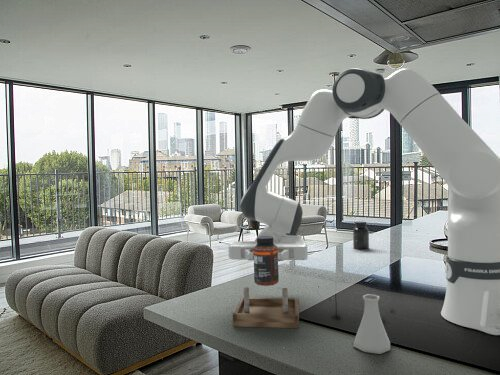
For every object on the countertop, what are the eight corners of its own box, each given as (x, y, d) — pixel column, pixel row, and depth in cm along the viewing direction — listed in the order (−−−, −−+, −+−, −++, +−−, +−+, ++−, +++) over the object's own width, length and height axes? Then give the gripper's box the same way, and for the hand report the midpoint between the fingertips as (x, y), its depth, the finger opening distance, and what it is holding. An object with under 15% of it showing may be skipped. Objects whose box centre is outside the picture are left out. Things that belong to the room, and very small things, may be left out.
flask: (361, 335, 81) (361, 289, 81) (396, 344, 76) (395, 295, 76) (347, 348, 75) (346, 298, 75) (383, 358, 71) (382, 305, 70)
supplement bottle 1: (277, 279, 96) (276, 234, 95) (280, 286, 90) (279, 238, 89) (253, 280, 95) (252, 235, 95) (254, 287, 89) (253, 239, 89)
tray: (299, 309, 98) (298, 277, 97) (298, 328, 86) (297, 291, 85) (241, 308, 100) (240, 276, 99) (232, 326, 88) (231, 290, 87)
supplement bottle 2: (350, 247, 175) (349, 221, 174) (361, 246, 178) (361, 220, 177) (360, 250, 169) (359, 223, 168) (372, 248, 171) (371, 222, 171)
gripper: (232, 234, 106) (222, 244, 93) (306, 234, 104) (307, 244, 90) (233, 257, 107) (223, 269, 93) (307, 257, 104) (308, 270, 90)
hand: (265, 257), depth 91 cm, fingers closed on supplement bottle 1, 6 cm apart
